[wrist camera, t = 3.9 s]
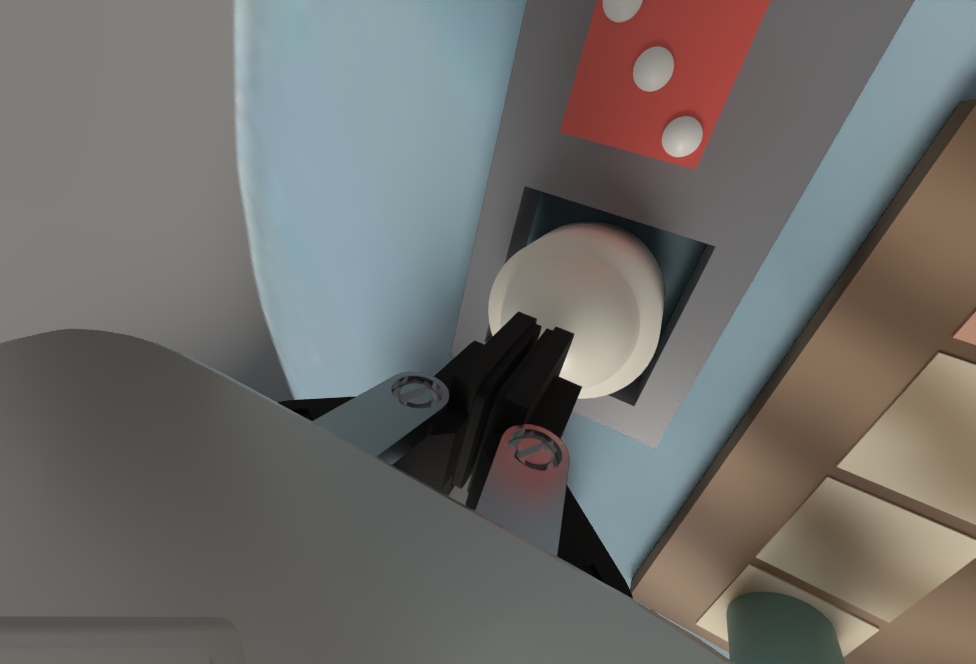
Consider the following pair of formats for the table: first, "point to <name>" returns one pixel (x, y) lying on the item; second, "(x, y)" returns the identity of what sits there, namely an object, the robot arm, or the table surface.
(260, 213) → the table surface
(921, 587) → the track board
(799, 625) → the green capsule
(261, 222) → the table surface
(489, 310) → the dome
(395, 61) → the table surface
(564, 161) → the base
